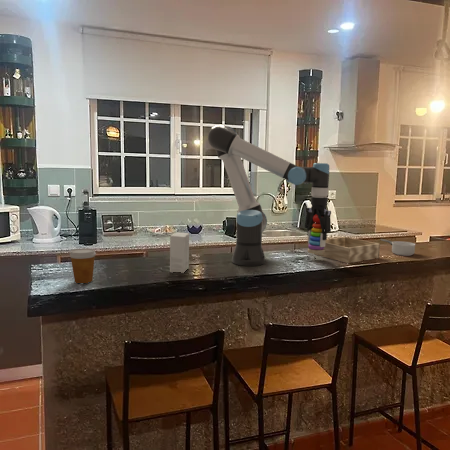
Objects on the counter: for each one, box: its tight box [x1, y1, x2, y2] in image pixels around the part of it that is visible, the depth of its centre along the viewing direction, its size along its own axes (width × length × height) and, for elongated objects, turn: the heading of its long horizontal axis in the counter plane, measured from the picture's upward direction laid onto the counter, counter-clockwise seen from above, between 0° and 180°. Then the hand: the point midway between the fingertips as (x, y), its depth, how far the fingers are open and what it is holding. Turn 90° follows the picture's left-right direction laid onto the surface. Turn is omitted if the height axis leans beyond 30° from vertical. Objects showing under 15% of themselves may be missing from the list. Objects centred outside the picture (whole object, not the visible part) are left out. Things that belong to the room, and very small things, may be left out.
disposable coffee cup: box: [68, 247, 97, 284], centre depth 164 cm, size 10×10×12 cm
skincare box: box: [169, 231, 190, 274], centre depth 182 cm, size 8×7×16 cm
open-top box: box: [314, 236, 381, 264], centre depth 215 cm, size 22×22×7 cm
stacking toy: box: [307, 215, 325, 255], centre depth 204 cm, size 8×8×19 cm
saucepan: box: [380, 238, 417, 257], centre depth 226 cm, size 12×20×6 cm, turn 30°
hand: (316, 245), depth 205 cm, fingers closed on stacking toy, 7 cm apart
